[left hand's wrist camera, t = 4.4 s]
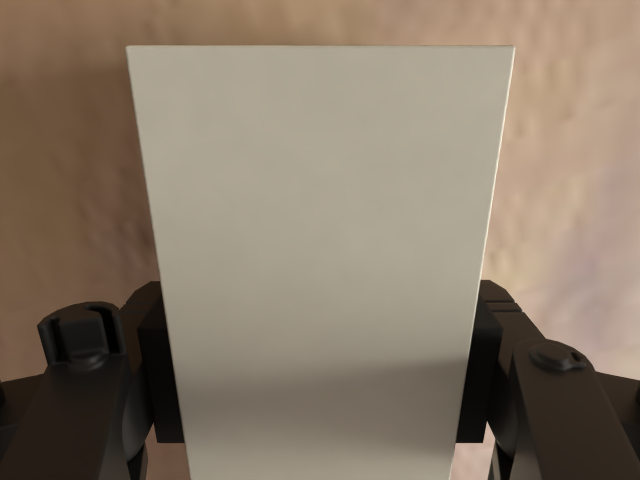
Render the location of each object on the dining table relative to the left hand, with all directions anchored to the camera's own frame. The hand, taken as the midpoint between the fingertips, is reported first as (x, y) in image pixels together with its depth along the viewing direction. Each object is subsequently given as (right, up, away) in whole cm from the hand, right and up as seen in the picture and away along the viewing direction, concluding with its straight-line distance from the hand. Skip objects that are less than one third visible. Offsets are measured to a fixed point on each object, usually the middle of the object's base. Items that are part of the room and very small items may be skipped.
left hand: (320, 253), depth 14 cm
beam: (0, -29, +12) cm, 32 cm away
